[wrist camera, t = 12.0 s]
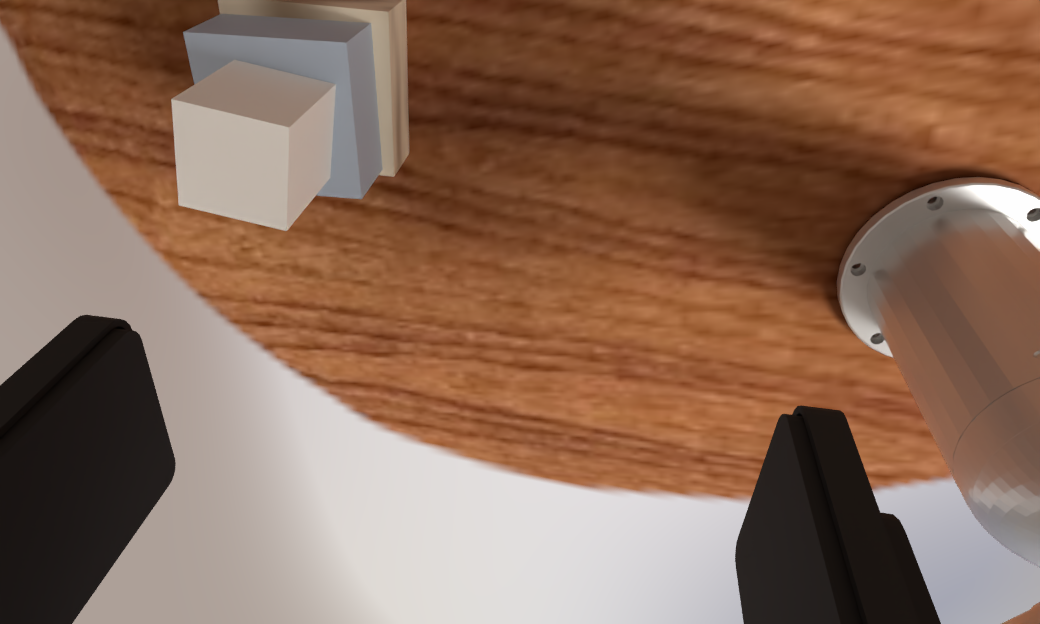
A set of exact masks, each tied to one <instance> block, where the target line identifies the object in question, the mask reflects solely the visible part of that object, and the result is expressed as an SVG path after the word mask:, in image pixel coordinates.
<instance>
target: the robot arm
mask: <svg viewBox="0 0 1040 624" xmlns="http://www.w3.org/2000/svg"><path fill="white" fill-rule="evenodd" d="M931 198H933V199H931ZM929 199H931V200H929ZM855 264H856V265H855ZM837 297H838V301H839V304H840V307H841V311H842V313H843V315H844V317H845V319H846V321H847V323H848V326H849V327H850V328H851V330H852V331H853V332H854V333H855V335H856V336H857V337H858V338H859V339H860V340H861V341H862V342H864V343H865V344H866V345H867V346H869V347H870V348H872V349H874V350H876V351H878V352H880V353H882V354H884V355H886V356H889V357H892V358H894V359H895V361H896V363H897V365H898V367H899V369H900V371H901V373H902V375H903V377H904V379H905V381H906V383H907V385H908V387H909V389H910V391H911V393H912V395H913V397H914V399H915V402H916V404H917V406H918V408H919V410H920V412H921V414H922V416H923V418H924V420H925V422H926V424H927V426H928V428H929V430H930V432H931V434H932V436H933V438H934V440H935V442H936V444H937V446H938V448H939V450H940V452H941V454H942V456H943V458H944V460H945V462H946V464H947V466H948V468H949V470H950V472H951V474H952V476H953V478H954V480H955V482H956V484H957V486H958V487H959V489H960V491H961V493H962V495H963V497H964V499H965V501H966V503H967V505H968V507H969V508H970V510H971V511H972V513H973V515H974V516H975V518H976V519H977V520H978V522H979V523H980V524H981V525H982V526H983V528H984V529H985V530H986V531H987V532H988V533H989V534H990V535H991V536H992V537H993V538H994V539H996V540H997V541H998V542H999V543H1000V544H1001V545H1003V546H1004V547H1005V548H1007V549H1008V550H1009V551H1011V552H1013V553H1014V554H1016V555H1018V556H1019V557H1021V558H1023V559H1024V560H1026V561H1028V562H1030V563H1032V564H1034V565H1036V566H1038V567H1040V197H1039V196H1038V195H1037V194H1035V193H1033V192H1031V191H1030V190H1028V189H1026V188H1024V187H1022V186H1021V185H1018V184H1014V183H1011V182H1008V181H1005V180H1001V179H994V178H985V177H968V178H955V179H950V180H945V181H941V182H936V183H932V184H929V185H927V186H924V187H922V188H919V189H916V190H914V191H911V192H909V193H907V194H905V195H904V196H902V197H900V198H898V199H896V200H895V201H893V202H891V203H889V204H888V205H887V206H886V207H884V208H883V209H882V210H880V211H879V212H878V213H876V214H875V215H874V216H873V217H872V218H871V219H870V220H869V221H868V222H867V223H866V224H865V225H864V226H863V227H862V228H861V229H860V230H859V231H858V232H857V234H856V235H855V237H854V238H853V240H852V241H851V243H850V244H849V246H848V247H847V249H846V252H845V254H844V256H843V259H842V261H841V264H840V267H839V272H838V278H837ZM174 472H175V458H174V454H173V450H172V447H171V443H170V440H169V436H168V433H167V429H166V426H165V422H164V418H163V415H162V411H161V407H160V404H159V400H158V397H157V393H156V389H155V386H154V382H153V379H152V375H151V372H150V368H149V364H148V361H147V357H146V354H145V350H144V347H143V343H142V340H141V337H140V335H139V334H138V333H137V332H136V331H132V329H131V326H130V325H129V324H128V323H127V322H126V321H125V320H121V319H114V318H107V317H99V316H91V315H83V316H80V317H78V318H76V319H75V320H74V321H73V322H72V323H70V324H69V325H68V326H67V327H66V328H65V329H64V330H62V331H61V332H60V333H59V334H58V335H57V336H56V337H54V338H53V339H52V340H51V341H50V342H49V343H48V344H47V345H46V346H44V347H43V348H42V349H41V350H40V351H39V352H38V353H36V354H35V355H34V356H33V357H32V358H31V359H30V360H29V361H27V362H26V363H25V364H24V365H23V366H22V367H21V368H20V369H18V370H17V371H16V372H15V373H14V374H13V375H12V376H11V377H9V378H8V379H7V380H6V381H5V382H4V383H3V384H2V385H0V624H72V623H73V621H74V620H75V619H76V617H77V616H78V614H79V613H80V611H81V610H82V609H83V607H84V606H85V604H86V603H87V602H88V600H89V599H90V597H91V596H92V594H93V593H94V592H95V590H96V589H97V587H98V586H99V584H100V583H101V582H102V580H103V579H104V577H105V576H106V574H107V573H108V572H109V570H110V569H111V567H112V566H113V564H114V563H115V561H116V560H117V559H118V557H119V556H120V554H121V553H122V551H123V550H124V549H125V547H126V546H127V544H128V543H129V541H130V540H131V539H132V537H133V536H134V534H135V533H136V532H137V530H138V529H139V527H140V526H141V524H142V523H143V521H144V520H145V519H146V517H147V516H148V514H149V513H150V512H151V510H152V509H153V507H154V506H155V504H156V503H157V502H158V500H159V499H160V497H161V496H162V495H163V493H164V492H165V490H166V489H167V487H168V486H169V484H170V483H171V481H172V478H173V476H174ZM735 557H736V558H735V562H736V571H737V578H738V585H739V592H740V599H741V606H742V614H743V620H744V624H941V623H940V620H939V618H938V615H937V612H936V610H935V607H934V604H933V602H932V599H931V597H930V594H929V592H928V589H927V586H926V584H925V581H924V579H923V576H922V573H921V571H920V568H919V566H918V563H917V561H916V558H915V555H914V553H913V550H912V547H911V545H910V543H909V540H908V537H907V535H906V532H905V530H904V528H903V526H902V524H901V522H900V520H899V519H897V518H896V517H895V516H894V515H893V514H886V513H880V511H879V508H878V505H877V503H876V500H875V497H874V494H873V491H872V489H871V486H870V483H869V480H868V478H867V475H866V472H865V469H864V466H863V464H862V461H861V458H860V455H859V453H858V450H857V447H856V444H855V441H854V439H853V436H852V433H851V430H850V428H849V425H848V422H847V419H846V417H845V415H844V413H843V412H841V411H839V410H832V409H824V408H816V407H808V406H797V408H796V409H795V410H794V412H793V414H792V415H788V414H782V415H781V416H780V418H779V420H778V422H777V425H776V428H775V431H774V434H773V437H772V440H771V443H770V446H769V449H768V451H767V454H766V457H765V460H764V463H763V466H762V469H761V472H760V475H759V478H758V481H757V484H756V487H755V489H754V492H753V495H752V498H751V501H750V504H749V507H748V510H747V513H746V516H745V519H744V522H743V525H742V528H741V530H740V534H739V536H738V540H737V545H736V554H735ZM1002 624H1040V602H1039V603H1037V604H1035V605H1034V606H1033V607H1032V608H1031V609H1030V610H1028V611H1026V612H1024V613H1022V614H1020V615H1018V616H1016V617H1014V618H1012V619H1010V620H1008V621H1006V622H1004V623H1002Z"/></svg>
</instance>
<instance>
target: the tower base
mask: <svg viewBox="0 0 1040 624" xmlns="http://www.w3.org/2000/svg"><path fill="white" fill-rule="evenodd" d="M218 5H219V12H220V14H235V15H251V16H267V17H283V18H299V19H315V20H331V21H347V22H363V23H371V27H372V40H373V53H374V66H375V79H376V92H377V104H378V117H379V130H380V143H381V156H382V168H383V170H382V171H381V172H380V174H379V175H382V176H391V177H394V176H395V175H396V173H397V172H398V170H399V169H400V167H401V166H402V164H403V162H404V161H405V159H406V158H407V156H408V155H409V112H408V65H407V19H406V0H218Z"/></svg>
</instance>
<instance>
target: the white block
mask: <svg viewBox="0 0 1040 624" xmlns="http://www.w3.org/2000/svg"><path fill="white" fill-rule="evenodd" d="M335 93H336V84H333V83H329V82H325V81H321V80H316V79H312V78H308V77H304V76H300V75H296V74H292V73H288V72H284V71H279V70H275V69H271V68H267V67H263V66H259V65H255V64H251V63H247V62H242V61H238V60H233V61H232V62H230V63H228V64H227V65H225V66H224V67H222V68H220V69H219V70H217V71H216V72H214V73H212V74H211V75H209V76H208V77H206V78H204V79H203V80H201V81H199V82H198V83H196V84H195V85H193V86H191V87H190V88H188V89H187V90H185V91H183V92H182V93H180V94H179V95H177V96H175V97H174V98H172V99H171V101H172V115H173V129H174V144H175V158H176V172H177V187H178V201H179V205H180V206H184V207H188V208H192V209H196V210H201V211H205V212H209V213H213V214H217V215H222V216H226V217H230V218H234V219H238V220H242V221H247V222H251V223H255V224H259V225H263V226H267V227H272V228H276V229H280V230H284V231H287V230H288V229H289V228H290V226H291V225H292V224H293V223H294V222H295V220H296V219H297V218H298V217H299V215H300V214H301V213H302V212H303V211H304V209H305V208H306V207H307V206H308V204H309V203H310V202H311V201H312V200H313V198H314V197H315V196H316V195H317V193H318V192H319V191H320V190H321V189H322V187H323V186H324V185H325V184H326V182H327V181H328V180H329V179H330V174H331V158H332V142H333V125H334V109H335Z"/></svg>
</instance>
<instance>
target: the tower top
mask: <svg viewBox="0 0 1040 624" xmlns="http://www.w3.org/2000/svg"><path fill="white" fill-rule="evenodd" d="M183 34H184V39H185V43H186V48H187V53H188V57H189V62H190V67H191V71H192V76H193V81H194V85H195V84H196V83H198V82H199V81H201V80H203V79H204V78H206V77H208V76H209V75H211V74H212V73H214V72H216V71H217V70H219V69H220V68H222V67H224V66H225V65H227V64H228V63H230V62H232V61H233V60H238V61H242V62H247V63H251V64H255V65H259V66H263V67H267V68H271V69H275V70H279V71H284V72H288V73H292V74H296V75H300V76H304V77H308V78H312V79H316V80H321V81H325V82H329V83H333V84H336V93H335V109H334V125H333V142H332V158H331V174H330V179H329V180H328V181H327V182H326V184H325V185H324V186H323V187H322V189H321V190H320V191H319V192H318V193H317V196H329V197H341V198H353V199H362V198H363V197H364V195H365V194H366V192H367V191H368V190H369V188H370V187H371V185H372V184H373V182H374V181H375V180H376V178H377V177H378V175H379V174H380V172H381V171H382V170H383V168H382V156H381V143H380V130H379V117H378V104H377V92H376V79H375V66H374V53H373V40H372V27H371V23H363V22H347V21H331V20H315V19H299V18H283V17H267V16H251V15H235V14H220V15H217V16H215V17H213V18H211V19H209V20H207V21H205V22H203V23H201V24H199V25H197V26H195V27H192V28H190V29H188V30H186V31H184V32H183Z"/></svg>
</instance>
